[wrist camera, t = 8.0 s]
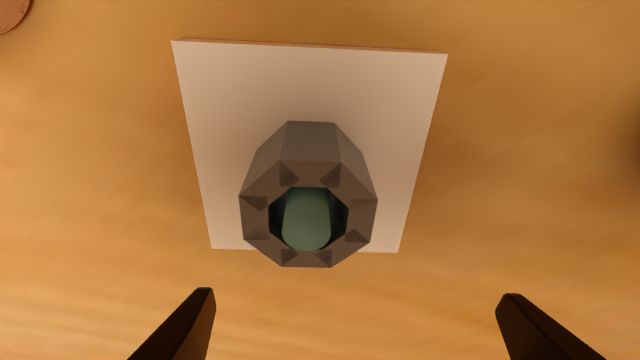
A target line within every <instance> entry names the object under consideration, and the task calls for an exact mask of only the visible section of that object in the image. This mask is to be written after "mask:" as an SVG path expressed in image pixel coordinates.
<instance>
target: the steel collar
mask: <svg viewBox="0 0 640 360" xmlns="http://www.w3.org/2000/svg"><path fill="white" fill-rule="evenodd" d="M292 186H293V187H323V188H328V202H329V215H330V228H331V235H330V239H329V240H328V242H327V243H326V244H325V245H324V246H323V247H321V248H319V249H316V250H313V251H300V250H297V249H294V248H292V247H290V246H289V245H288V244H287V243H286V242H285V241H284V239H283V236H282V227H283V220H284V213H285V206H286V199H287V192H288V189H289V188H290V187H292ZM238 197H239V206H240V215H241V224H242V233H243V240H245V241H246V242H248V243H249V244H250V245H252V246H253V247H255V248H256V249H257V250H259V251H260V252H262V253H263V254H264V255H266V256H267V257H269V258H270V259H271V260H273V261H274V262H276V263H277V264H278V265H280V266H281V267H321V268H331V267H333V266H334V265H336V264H337V263H339V262H341V261H342V260H344V259H345V258H347V257H348V256H350V255H351V254H353V253H355V252H356V251H358V250H359V249H361V248H362V247H364V246H366V245H367V244H369V243H370V240H371V235H372V230H373V224H374V219H375V214H376V208H377V203H378V198H377V195H376V192H375V189H374V186H373V183H372V180H371V177H370V174H369V171H368V168H367V165H366V162H365V159H364V156H363V153H362V152H361V151H360V150H359V149H358V148H357V147H356V146H355V145H354V143H353V142H352V141H351V140H350V139H349V138H348V137H347V136H346V135H345V134H344V133H343V131H342V130H341V129H340V128H339V127H338V126H337V125H336V124H335V123H334V122H313V121H290V120H288V121H287V122H286V123H285V124H284V125H282V126H281V127H280V128H279V129H278V130H277V131H276V132H275V133H274V134H273V135H272V136H271V137H269V138H268V139H267V140H266V141H265V142H264V143H263V144H262V145H261V146H260V147H259V148H258V149H257V150H256V152H255V155H254V157H253V160H252V162H251V165H250V167H249V170H248V172H247V175H246V177H245V180H244V182H243V185H242V187H241V190H240V192H239V195H238Z"/></svg>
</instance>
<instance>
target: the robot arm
mask: <svg viewBox="0 0 640 360" xmlns="http://www.w3.org/2000/svg"><path fill="white" fill-rule="evenodd" d="M215 313H216V302H215V297H214V293H213V289H212V288H210V287H199V288H197V289H196V290H195V291H194V292H193V293H192V294H191V295H190V296H189V297H188V298H187V299H186V300H185V301H184V302H183V303H182V304H181V305H180V306H179V307H178V308H177V309H176V310H175V311H174V312H173V313H172V314H171V315H170V316H169V317H168V318H167V319H166V320H165V321H164V322H163V323H162V324H161V325H160V326H159V327H158V328H157V329H156V330H155V331H154V332H153V333H152V334H151V335H150V336H149V338H148V339H147V340H146V341H145V342H144V343H143V344H142V345H141V346H140V347H139V348H138V349H137V350H136V351H135V352H134V353H133V354H132V355H131V356H130V357H129V358H128V359H127V360H205V358H206V353H207V349H208V344H209V340H210V335H211V331H212V326H213V322H214V317H215ZM495 315H496V319H497V322H498V325H499V328H500V331H501V333H502V336H503V339H504V342H505V345H506V348H507V350H508V353H509V356H510V359H511V360H606V359H605V358H604V357H602V356H601V355H600V354H599V353H597V352H596V351H595V350H593V349H592V348H591V347H589V346H588V345H587V344H585V343H584V342H583V341H581V340H580V339H579V338H577V337H576V336H575V335H574V334H572V333H571V332H570V331H568V330H567V329H566V328H564V327H563V326H562V325H560V324H559V323H558V322H556V321H555V320H554V319H553V318H551V317H550V316H549V315H547V314H546V313H545V312H543V311H542V310H541V309H539V308H538V307H537V306H535V305H534V304H533V303H531V302H530V301H529V300H528V299H526V298H525V297H524V296H522V295H520V294H517V293H506V294H504V295H503V297H502V298H501V300H500V302H499V304H498V306H497V307H496V310H495Z"/></svg>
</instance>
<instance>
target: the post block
mask: <svg viewBox="0 0 640 360" xmlns="http://www.w3.org/2000/svg"><path fill="white" fill-rule="evenodd" d="M171 44H172V50H173V55H174V60H175V65H176V70H177V75H178V80H179V85H180V90H181V95H182V100H183V105H184V111H185V116H186V121H187V126H188V131H189V136H190V141H191V146H192V151H193V156H194V161H195V167H196V172H197V177H198V182H199V187H200V192H201V197H202V202H203V207H204V212H205V217H206V222H207V228H208V233H209V238H210V243H211V248H212V249H245V250H257V249H256V248H255V247H253V246H252V245H250V244H249V243H248V242H246V241H245V240H243V233H242V224H241V215H240V206H239V197H238V195H239V192H240V190H241V187H242V185H243V182H244V180H245V177H246V175H247V172H248V170H249V167H250V165H251V162H252V160H253V157H254V155H255V152H256V150H257V149H258V148H259V147H260V146H261V145H262V144H263V143H264V142H265V141H266V140H267V139H268V138H269V137H271V136H272V135H273V134H274V133H275V132H276V131H277V130H278V129H279V128H280V127H281V126H282V125H284V124H285V123H286V122H287V121H288V120H290V121H313V122H334V123H335V124H336V125H337V126H338V127H339V128H340V129H341V130H342V131H343V133H344V134H345V135H346V136H347V137H348V138H349V139H350V140H351V141H352V142H353V143H354V145H355V146H356V147H357V148H358V149H359V150H360V151H361V152H362V153H363V156H364V159H365V162H366V165H367V168H368V171H369V174H370V177H371V180H372V183H373V186H374V189H375V192H376V195H377V198H378V203H377V208H376V214H375V219H374V224H373V230H372V235H371V240H370V243H369V244H367V245H366V246H364V247H362V248H361V249H359V250H358V251H356V252H390V253H398V249H399V246H400V242H401V238H402V234H403V230H404V226H405V222H406V218H407V214H408V210H409V206H410V202H411V198H412V194H413V190H414V186H415V183H416V179H417V175H418V171H419V167H420V163H421V159H422V155H423V151H424V147H425V143H426V139H427V135H428V131H429V127H430V123H431V120H432V116H433V112H434V108H435V104H436V100H437V96H438V92H439V88H440V84H441V80H442V76H443V72H444V68H445V64H446V60H447V57H448V54H446V53H443V52H440V51H434V50H414V49H394V48H374V47H354V46H335V45H315V44H295V43H275V42H255V41H235V40H215V39H195V38H180V39H176V40H171ZM330 235H331V228H330V215H329V202H328V188H323V187H293V186H292V187H290V188H289V189H288V192H287V199H286V206H285V213H284V220H283V227H282V236H283V239H284V241H285V242H286V243H287V244H288V245H289V246H290V247H292V248H294V249H297V250H300V251H313V250H316V249H319V248H321V247H323V246H324V245H325V244H326V243H327V242H328V240H329V239H330Z"/></svg>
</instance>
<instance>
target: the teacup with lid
mask: <svg viewBox="0 0 640 360" xmlns="http://www.w3.org/2000/svg"><path fill="white" fill-rule="evenodd" d="M29 2H30V0H0V34H2V33H5V32H7V31H8V30H10V29H12V28H13V27H14V26H15V25H16V24H17V23H18V22H19V21H20V20H21V19H22V18H23V16H24V14H25V13H26V11H27V8H28V6H29Z"/></svg>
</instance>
